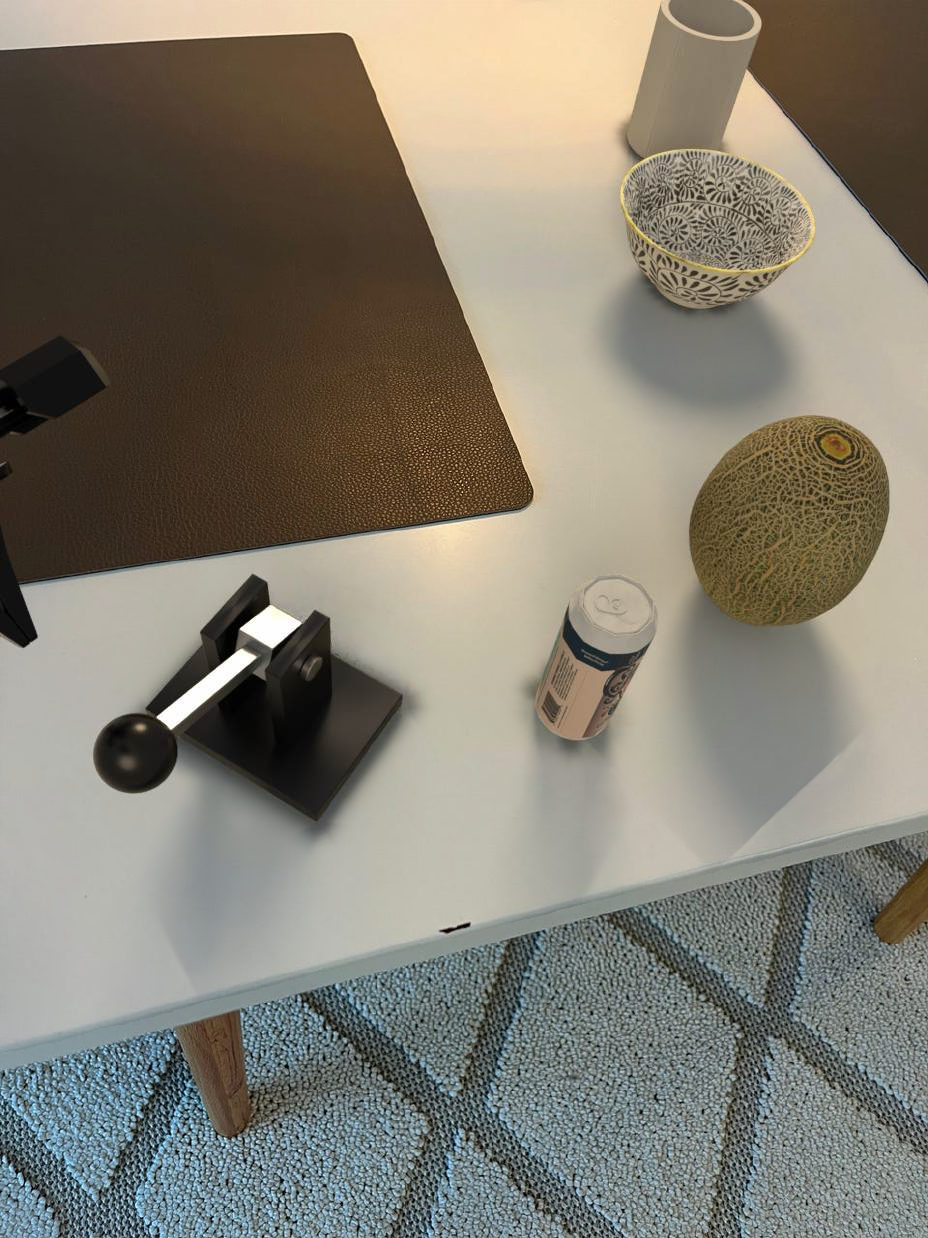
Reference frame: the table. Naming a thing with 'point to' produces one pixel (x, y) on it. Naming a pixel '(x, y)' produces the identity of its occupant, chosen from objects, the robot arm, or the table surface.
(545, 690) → the beer can
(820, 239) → the table surface
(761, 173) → the bowl
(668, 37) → the cup
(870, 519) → the fruit
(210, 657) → the lever base
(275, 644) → the ball knob lever
